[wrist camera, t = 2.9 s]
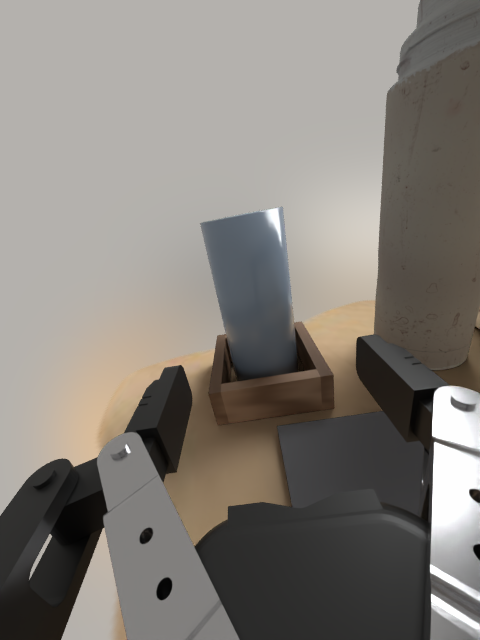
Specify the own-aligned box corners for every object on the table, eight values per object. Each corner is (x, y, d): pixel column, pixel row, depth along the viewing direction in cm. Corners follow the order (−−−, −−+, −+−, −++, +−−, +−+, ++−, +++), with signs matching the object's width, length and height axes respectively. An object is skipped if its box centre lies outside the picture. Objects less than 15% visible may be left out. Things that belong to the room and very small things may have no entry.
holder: (303, 347, 29) (301, 321, 28) (334, 408, 20) (333, 374, 19) (223, 360, 30) (217, 335, 29) (217, 425, 21) (208, 394, 19)
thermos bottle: (449, 329, 27) (523, -44, 16) (484, 374, 21) (653, -211, 9) (369, 329, 30) (384, 15, 19) (378, 367, 24) (407, -78, 12)
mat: (406, 413, 19) (407, 407, 18) (570, 607, 9) (576, 601, 9) (277, 431, 19) (277, 426, 19) (315, 630, 10) (314, 625, 10)
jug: (287, 345, 30) (271, 207, 24) (307, 396, 22) (290, 205, 16) (237, 353, 31) (208, 220, 24) (238, 406, 22) (193, 225, 16)
